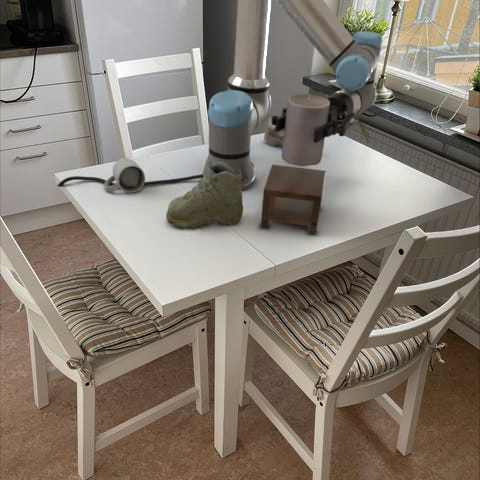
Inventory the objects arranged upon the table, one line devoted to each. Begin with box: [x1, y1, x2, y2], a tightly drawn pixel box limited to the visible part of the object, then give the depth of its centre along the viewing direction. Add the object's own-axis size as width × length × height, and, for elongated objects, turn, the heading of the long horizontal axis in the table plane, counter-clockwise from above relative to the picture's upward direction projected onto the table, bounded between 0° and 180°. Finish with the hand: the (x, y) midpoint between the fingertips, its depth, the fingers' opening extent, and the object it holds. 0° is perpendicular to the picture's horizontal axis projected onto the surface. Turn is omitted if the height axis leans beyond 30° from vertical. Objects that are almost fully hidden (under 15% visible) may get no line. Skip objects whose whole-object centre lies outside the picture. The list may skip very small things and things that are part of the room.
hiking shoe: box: [263, 115, 285, 148], centre depth 168 cm, size 9×21×12 cm, turn 51°
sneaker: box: [165, 162, 244, 229], centre depth 125 cm, size 11×19×15 cm, turn 88°
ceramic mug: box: [103, 157, 146, 194], centre depth 140 cm, size 11×8×8 cm
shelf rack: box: [260, 164, 326, 236], centre depth 130 cm, size 14×15×11 cm
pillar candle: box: [281, 93, 330, 167], centre depth 119 cm, size 10×10×15 cm
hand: (295, 130), depth 115 cm, fingers closed on pillar candle, 10 cm apart
